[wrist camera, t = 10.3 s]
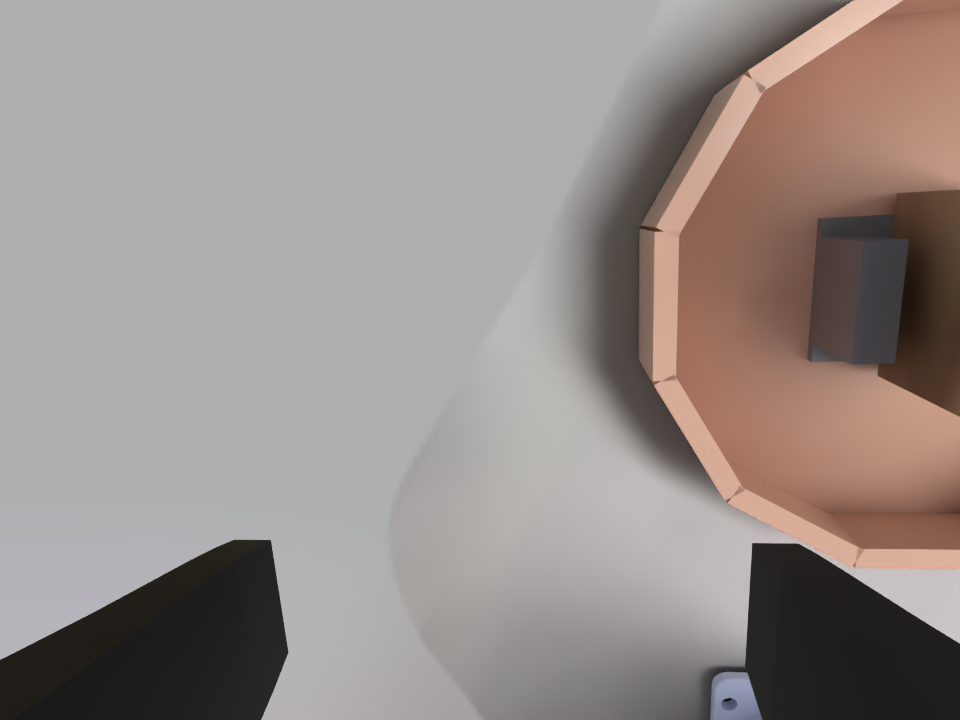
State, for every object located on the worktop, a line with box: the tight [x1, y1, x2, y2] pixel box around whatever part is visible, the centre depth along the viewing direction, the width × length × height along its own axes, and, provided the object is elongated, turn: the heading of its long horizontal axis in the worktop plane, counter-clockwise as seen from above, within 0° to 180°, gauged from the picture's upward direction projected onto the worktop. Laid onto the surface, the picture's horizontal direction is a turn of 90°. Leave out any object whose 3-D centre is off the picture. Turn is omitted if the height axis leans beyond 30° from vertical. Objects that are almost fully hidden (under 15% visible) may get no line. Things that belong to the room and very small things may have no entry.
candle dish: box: [639, 0, 960, 569], centre depth 15 cm, size 15×15×3 cm
